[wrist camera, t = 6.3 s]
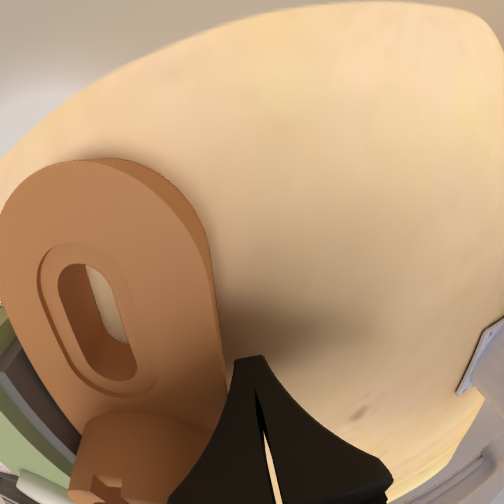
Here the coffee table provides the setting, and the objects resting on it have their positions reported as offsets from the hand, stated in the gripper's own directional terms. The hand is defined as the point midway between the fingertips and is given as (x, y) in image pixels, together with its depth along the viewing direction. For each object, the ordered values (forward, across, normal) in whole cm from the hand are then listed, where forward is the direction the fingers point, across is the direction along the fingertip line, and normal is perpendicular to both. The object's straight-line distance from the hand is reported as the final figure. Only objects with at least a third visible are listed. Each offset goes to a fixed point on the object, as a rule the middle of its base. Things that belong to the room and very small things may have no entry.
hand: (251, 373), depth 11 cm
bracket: (+2, +5, 0) cm, 5 cm away
